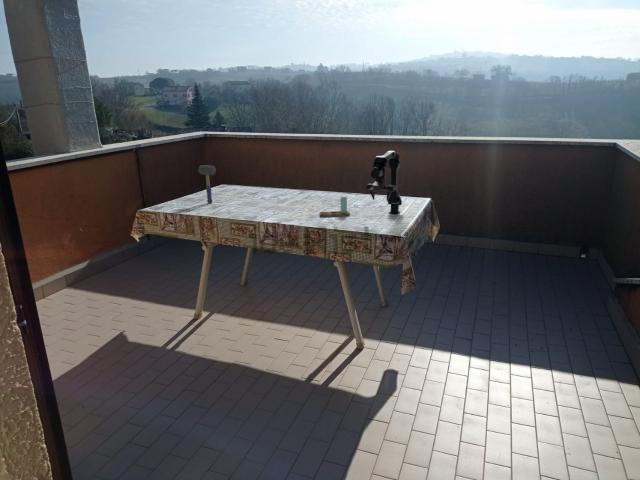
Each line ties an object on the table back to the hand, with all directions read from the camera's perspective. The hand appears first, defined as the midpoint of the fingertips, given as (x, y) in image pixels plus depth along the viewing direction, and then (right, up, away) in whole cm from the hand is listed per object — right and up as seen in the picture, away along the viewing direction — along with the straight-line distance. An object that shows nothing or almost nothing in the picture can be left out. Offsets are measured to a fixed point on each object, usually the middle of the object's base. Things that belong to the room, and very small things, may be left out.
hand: (380, 200), depth 294 cm
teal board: (-22, -8, +25) cm, 34 cm away
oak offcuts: (-34, -9, +24) cm, 42 cm away
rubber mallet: (-126, +3, +68) cm, 143 cm away
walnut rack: (-29, -8, +25) cm, 39 cm away
